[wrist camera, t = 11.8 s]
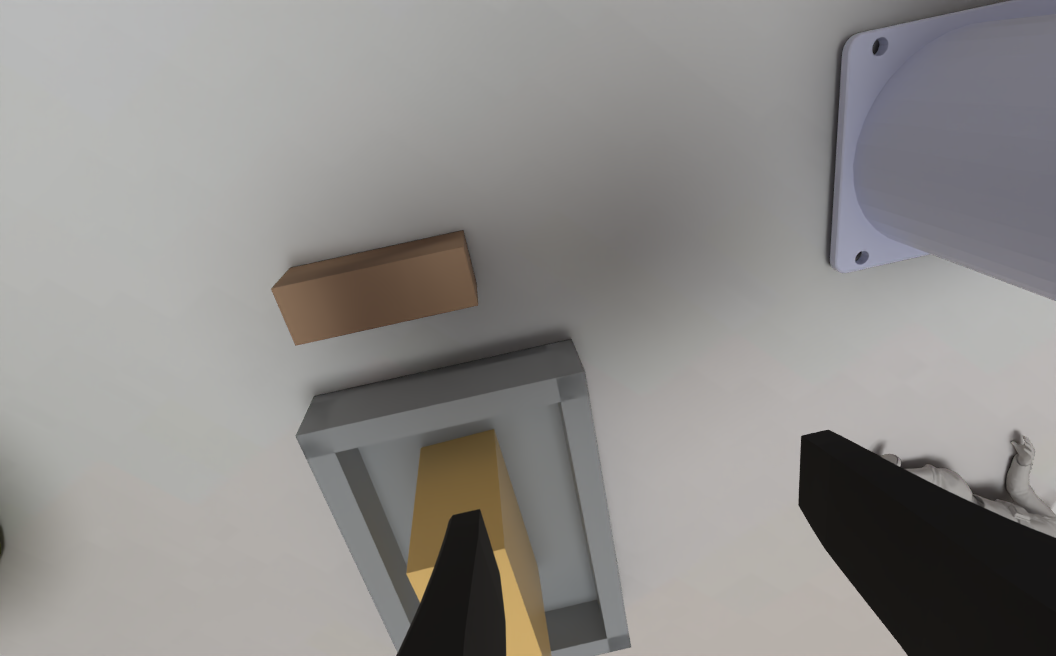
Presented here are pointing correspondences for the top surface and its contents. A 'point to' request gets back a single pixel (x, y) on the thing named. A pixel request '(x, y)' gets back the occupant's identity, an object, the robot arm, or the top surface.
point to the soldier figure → (1026, 501)
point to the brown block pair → (377, 288)
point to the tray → (532, 463)
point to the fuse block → (483, 483)
